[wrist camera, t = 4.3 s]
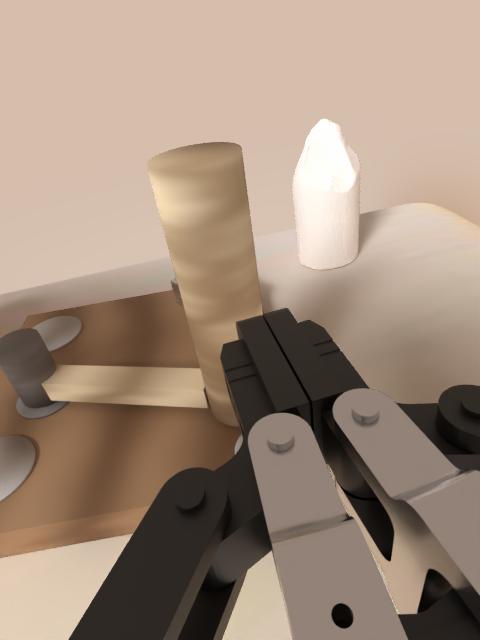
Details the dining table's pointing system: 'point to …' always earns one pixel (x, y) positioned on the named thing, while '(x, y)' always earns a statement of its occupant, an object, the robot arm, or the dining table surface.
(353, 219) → the white pointed cylinder
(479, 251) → the dining table surface
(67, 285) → the dining table surface
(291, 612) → the robot arm
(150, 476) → the stool seat
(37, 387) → the hinged leg
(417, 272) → the dining table surface
